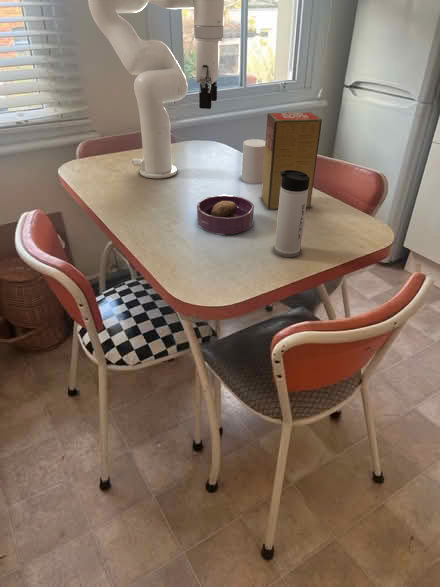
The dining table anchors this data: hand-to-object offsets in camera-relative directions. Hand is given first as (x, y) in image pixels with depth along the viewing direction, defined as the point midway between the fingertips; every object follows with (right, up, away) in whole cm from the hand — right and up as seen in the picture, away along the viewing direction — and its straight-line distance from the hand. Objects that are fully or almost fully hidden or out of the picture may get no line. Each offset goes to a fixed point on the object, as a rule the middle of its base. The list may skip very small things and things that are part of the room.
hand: (208, 104), depth 123 cm
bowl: (+5, -33, -2) cm, 34 cm away
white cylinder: (+15, -14, +26) cm, 33 cm away
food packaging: (+23, -26, +10) cm, 36 cm away
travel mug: (+20, -43, -14) cm, 49 cm away
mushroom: (+4, -33, -3) cm, 34 cm away
